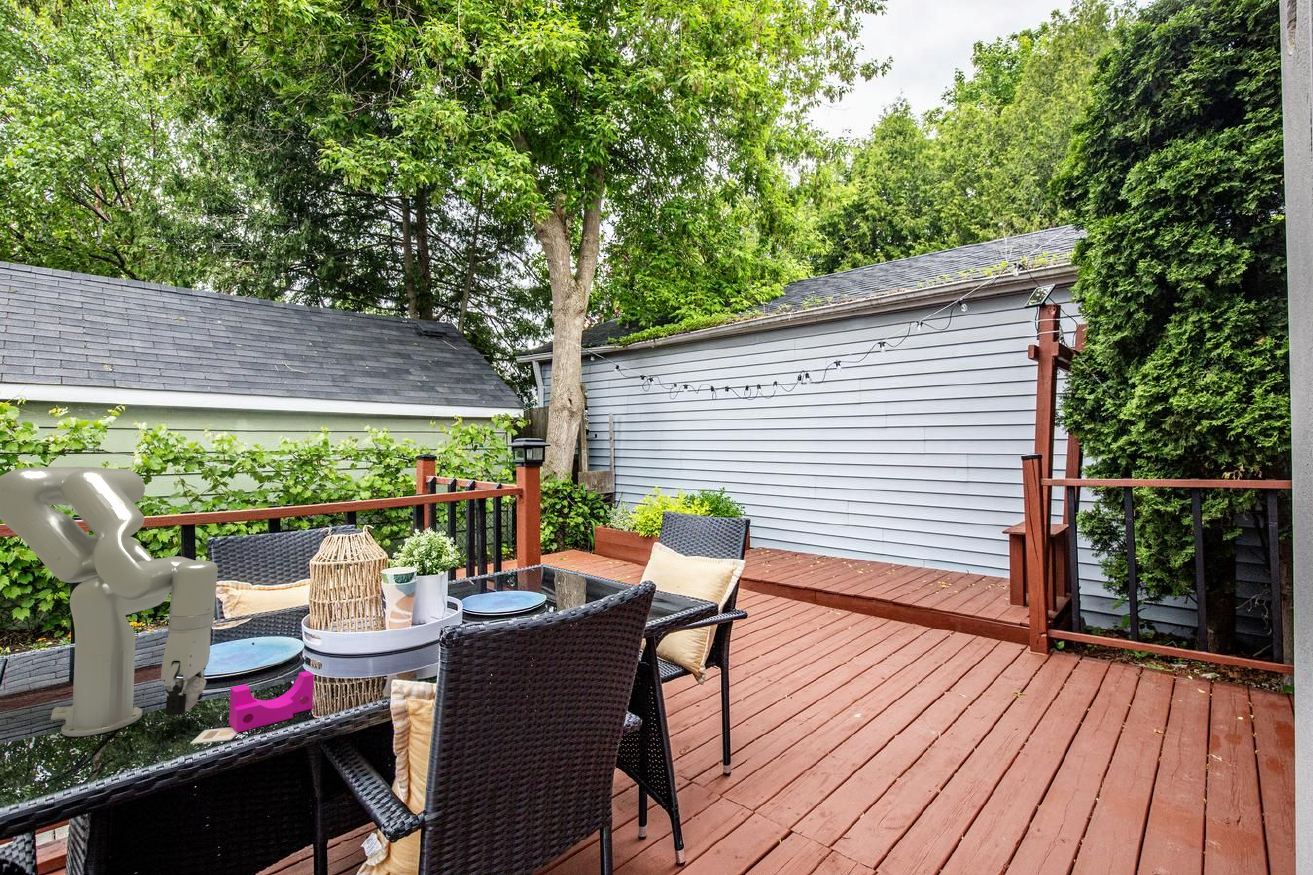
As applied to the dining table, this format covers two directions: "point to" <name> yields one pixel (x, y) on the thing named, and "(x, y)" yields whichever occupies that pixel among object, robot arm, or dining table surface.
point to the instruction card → (215, 735)
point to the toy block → (269, 704)
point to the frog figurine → (192, 690)
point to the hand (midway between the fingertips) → (184, 705)
